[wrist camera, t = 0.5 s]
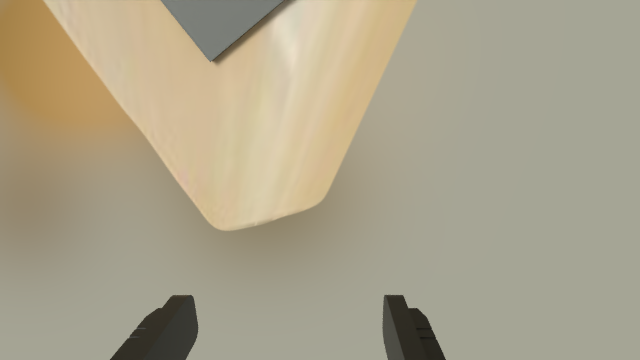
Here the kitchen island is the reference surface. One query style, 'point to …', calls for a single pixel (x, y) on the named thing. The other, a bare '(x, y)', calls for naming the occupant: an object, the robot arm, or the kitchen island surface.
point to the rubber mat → (218, 20)
